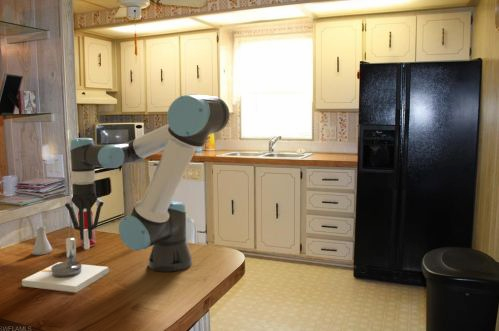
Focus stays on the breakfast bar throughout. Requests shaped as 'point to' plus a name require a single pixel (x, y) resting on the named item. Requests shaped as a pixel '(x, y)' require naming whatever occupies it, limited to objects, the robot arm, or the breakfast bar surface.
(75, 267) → the grey crank handle
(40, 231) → the flask
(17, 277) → the breakfast bar surface
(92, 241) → the beverage can
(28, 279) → the stand plate
